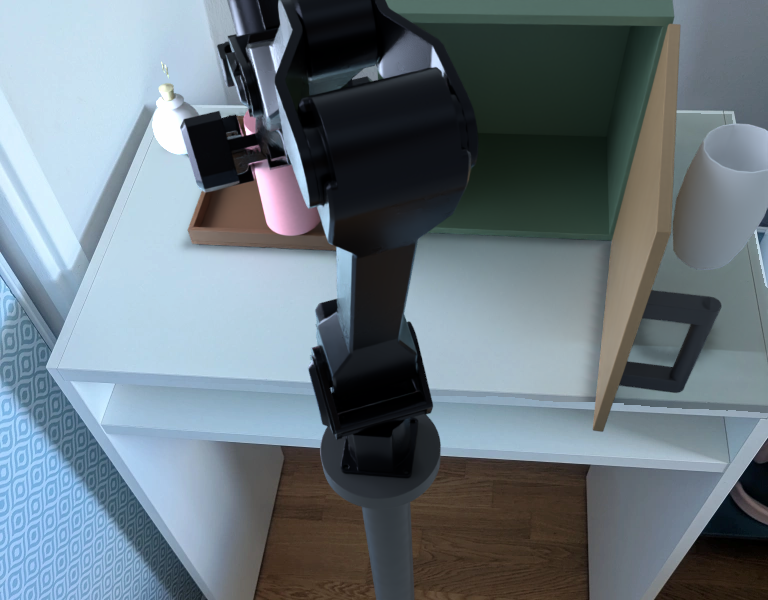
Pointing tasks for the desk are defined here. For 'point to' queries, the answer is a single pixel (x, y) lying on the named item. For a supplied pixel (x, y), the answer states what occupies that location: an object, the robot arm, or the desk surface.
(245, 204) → the tray
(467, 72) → the cupboard
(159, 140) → the ornament
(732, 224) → the cup
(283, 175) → the cylindrical container
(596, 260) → the desk surface
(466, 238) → the desk surface
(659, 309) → the cupboard door
